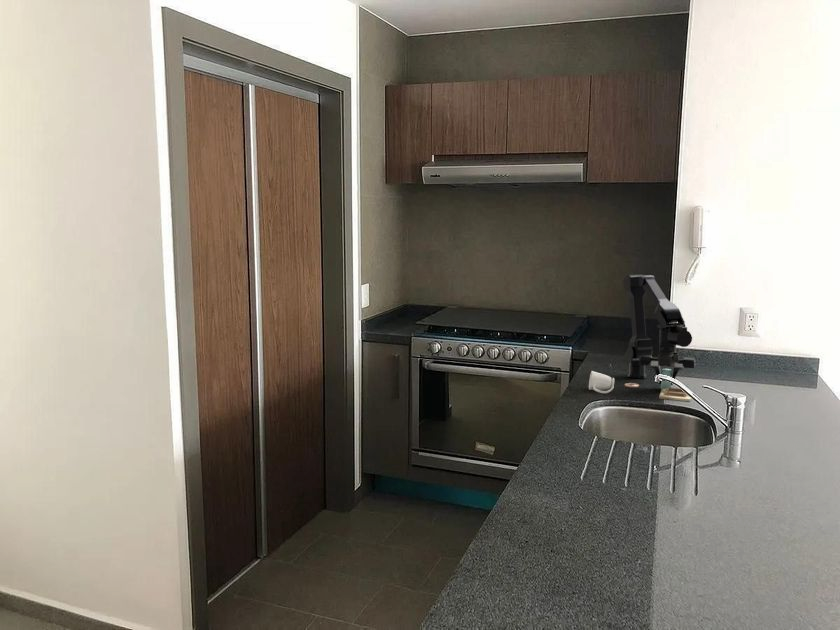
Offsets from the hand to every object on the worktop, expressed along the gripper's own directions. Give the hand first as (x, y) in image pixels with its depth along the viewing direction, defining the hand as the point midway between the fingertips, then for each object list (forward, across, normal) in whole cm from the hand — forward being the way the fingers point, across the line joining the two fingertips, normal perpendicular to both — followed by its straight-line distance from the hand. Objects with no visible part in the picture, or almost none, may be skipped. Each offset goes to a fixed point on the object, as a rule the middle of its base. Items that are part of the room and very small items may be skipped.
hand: (666, 384), depth 253 cm
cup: (0, -17, -9) cm, 19 cm away
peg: (+2, 0, 0) cm, 2 cm away
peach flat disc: (+2, -12, 0) cm, 12 cm away
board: (+2, +4, -9) cm, 10 cm away
